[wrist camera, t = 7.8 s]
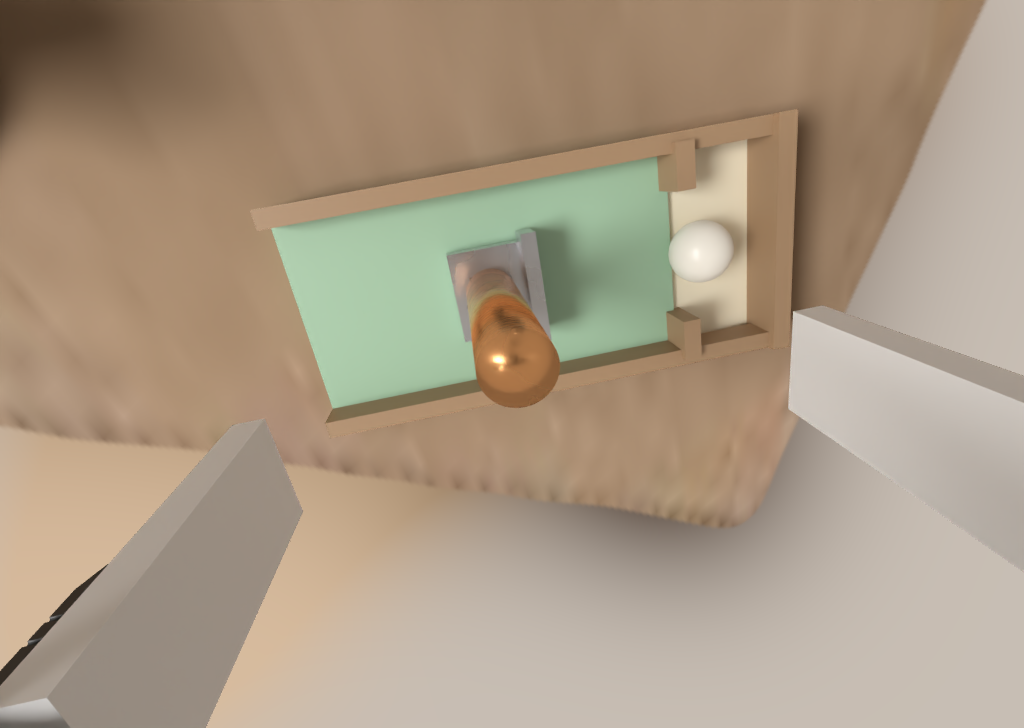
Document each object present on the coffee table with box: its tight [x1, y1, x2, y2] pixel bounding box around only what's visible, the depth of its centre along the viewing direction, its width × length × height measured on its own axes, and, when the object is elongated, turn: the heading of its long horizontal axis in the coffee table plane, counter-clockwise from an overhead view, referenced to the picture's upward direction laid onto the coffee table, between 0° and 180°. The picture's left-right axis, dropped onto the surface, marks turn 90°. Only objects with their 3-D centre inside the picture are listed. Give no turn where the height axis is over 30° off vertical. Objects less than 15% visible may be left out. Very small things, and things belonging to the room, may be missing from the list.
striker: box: [446, 228, 560, 408], centre depth 22 cm, size 6×5×13 cm
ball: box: [668, 220, 734, 283], centre depth 28 cm, size 4×4×4 cm
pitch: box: [250, 109, 798, 438], centre depth 28 cm, size 13×28×4 cm, turn 100°
